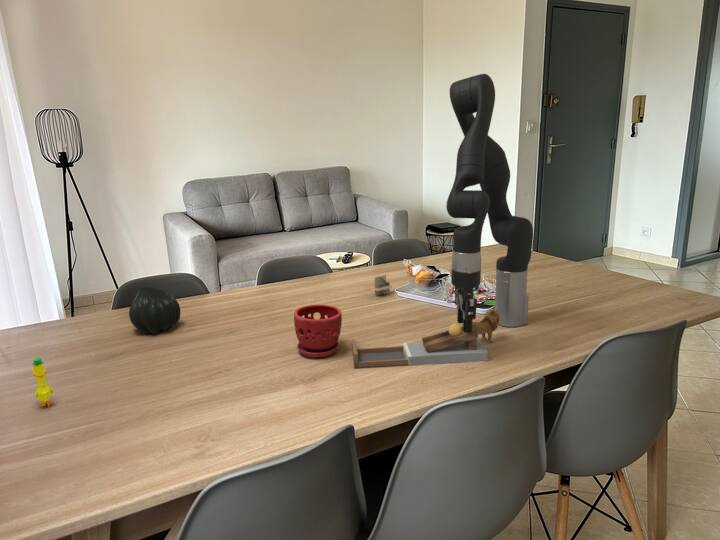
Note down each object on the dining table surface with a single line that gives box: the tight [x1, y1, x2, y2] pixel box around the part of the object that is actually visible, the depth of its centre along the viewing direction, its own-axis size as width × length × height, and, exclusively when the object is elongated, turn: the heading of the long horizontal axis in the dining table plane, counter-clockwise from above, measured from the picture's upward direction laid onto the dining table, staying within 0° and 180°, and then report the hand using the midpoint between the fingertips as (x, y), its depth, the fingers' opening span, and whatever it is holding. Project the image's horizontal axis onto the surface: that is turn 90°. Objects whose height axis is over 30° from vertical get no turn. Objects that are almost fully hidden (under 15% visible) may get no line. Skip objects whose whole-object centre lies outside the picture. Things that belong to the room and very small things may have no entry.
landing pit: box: [351, 340, 409, 370], centre depth 145 cm, size 14×9×4 cm, turn 94°
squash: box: [128, 286, 181, 334], centre depth 172 cm, size 14×15×15 cm
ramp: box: [421, 325, 480, 353], centre depth 145 cm, size 14×6×5 cm, turn 94°
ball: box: [448, 323, 462, 337], centre depth 145 cm, size 4×4×4 cm
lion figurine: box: [460, 308, 500, 344], centre depth 154 cm, size 15×5×9 cm, turn 116°
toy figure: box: [32, 357, 54, 407], centre depth 126 cm, size 7×4×12 cm, turn 38°
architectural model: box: [372, 274, 393, 297], centre depth 199 cm, size 3×7×8 cm, turn 130°
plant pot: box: [293, 304, 343, 358], centre depth 151 cm, size 13×13×12 cm
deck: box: [402, 338, 488, 366], centre depth 146 cm, size 21×9×2 cm, turn 94°
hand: (464, 327), depth 146 cm, fingers open, 5 cm apart
